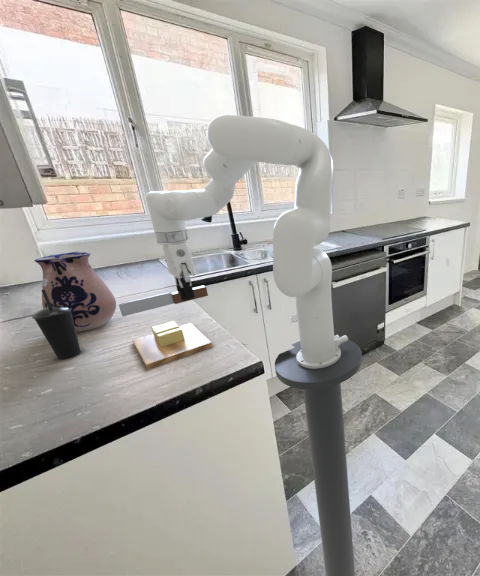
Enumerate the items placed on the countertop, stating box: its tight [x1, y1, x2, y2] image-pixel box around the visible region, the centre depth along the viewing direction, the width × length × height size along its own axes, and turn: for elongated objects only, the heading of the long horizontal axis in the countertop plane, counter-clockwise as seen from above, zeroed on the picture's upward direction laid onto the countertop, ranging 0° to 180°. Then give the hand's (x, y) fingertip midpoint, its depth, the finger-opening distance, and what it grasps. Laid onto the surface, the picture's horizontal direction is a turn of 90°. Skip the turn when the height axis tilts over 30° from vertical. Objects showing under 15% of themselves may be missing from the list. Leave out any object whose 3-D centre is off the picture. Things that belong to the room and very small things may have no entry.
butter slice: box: [157, 328, 185, 347], centre depth 91 cm, size 6×2×4 cm, turn 136°
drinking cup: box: [31, 289, 82, 360], centre depth 86 cm, size 8×8×20 cm
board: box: [132, 322, 213, 370], centre depth 93 cm, size 16×20×2 cm
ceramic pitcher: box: [33, 250, 117, 333], centre depth 104 cm, size 18×21×25 cm
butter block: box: [151, 320, 180, 343], centre depth 95 cm, size 6×6×4 cm
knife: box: [118, 285, 209, 317], centre depth 89 cm, size 21×2×4 cm, turn 137°
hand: (186, 297), depth 93 cm, fingers closed on knife, 2 cm apart
